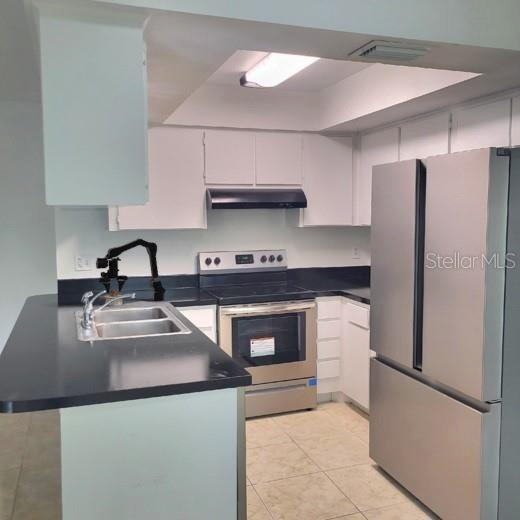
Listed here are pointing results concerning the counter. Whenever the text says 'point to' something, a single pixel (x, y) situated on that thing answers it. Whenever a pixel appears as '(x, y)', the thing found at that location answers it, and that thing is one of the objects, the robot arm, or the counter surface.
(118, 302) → the bowl
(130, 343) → the counter surface
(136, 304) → the mat
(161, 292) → the robot arm
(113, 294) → the lid
